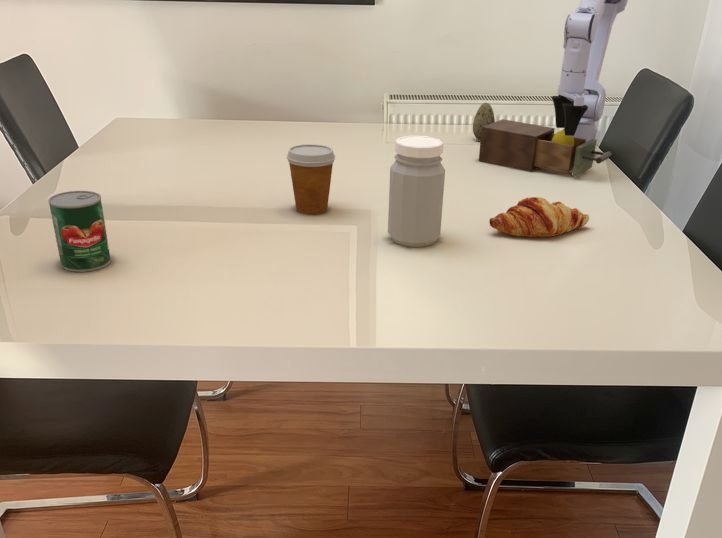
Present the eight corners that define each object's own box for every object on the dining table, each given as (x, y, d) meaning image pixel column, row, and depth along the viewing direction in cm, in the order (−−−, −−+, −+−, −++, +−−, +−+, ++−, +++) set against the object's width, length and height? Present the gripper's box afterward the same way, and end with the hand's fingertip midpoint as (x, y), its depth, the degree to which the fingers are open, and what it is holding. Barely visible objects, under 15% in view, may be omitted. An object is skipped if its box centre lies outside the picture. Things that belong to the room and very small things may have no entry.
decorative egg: (472, 137, 210) (475, 99, 205) (493, 138, 209) (497, 101, 204) (471, 142, 205) (474, 104, 200) (493, 144, 204) (497, 105, 199)
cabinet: (549, 162, 190) (554, 128, 186) (531, 171, 182) (536, 136, 178) (498, 152, 197) (502, 119, 193) (478, 161, 189) (481, 126, 184)
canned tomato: (82, 275, 121) (70, 209, 115) (50, 264, 124) (37, 199, 119) (121, 260, 127) (111, 196, 121) (90, 250, 130) (78, 187, 125)
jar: (403, 251, 135) (408, 150, 125) (378, 233, 142) (381, 136, 133) (449, 244, 139) (458, 145, 130) (423, 227, 146) (429, 132, 137)
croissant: (575, 238, 154) (572, 198, 153) (604, 231, 144) (601, 189, 143) (481, 244, 147) (477, 203, 147) (504, 237, 138) (500, 193, 137)
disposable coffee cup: (343, 206, 155) (343, 147, 149) (320, 220, 147) (320, 158, 141) (303, 199, 158) (302, 141, 152) (279, 212, 151) (276, 151, 144)
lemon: (571, 160, 185) (577, 127, 181) (570, 166, 180) (576, 132, 176) (548, 158, 186) (553, 125, 182) (547, 164, 181) (552, 130, 177)
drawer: (610, 171, 182) (615, 143, 179) (595, 180, 175) (601, 151, 171) (541, 157, 190) (545, 130, 187) (524, 166, 183) (528, 138, 180)
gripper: (601, 76, 166) (590, 139, 173) (582, 65, 179) (572, 124, 186) (570, 75, 166) (560, 138, 173) (552, 65, 178) (544, 124, 185)
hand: (564, 131), depth 179 cm, fingers open, 7 cm apart
